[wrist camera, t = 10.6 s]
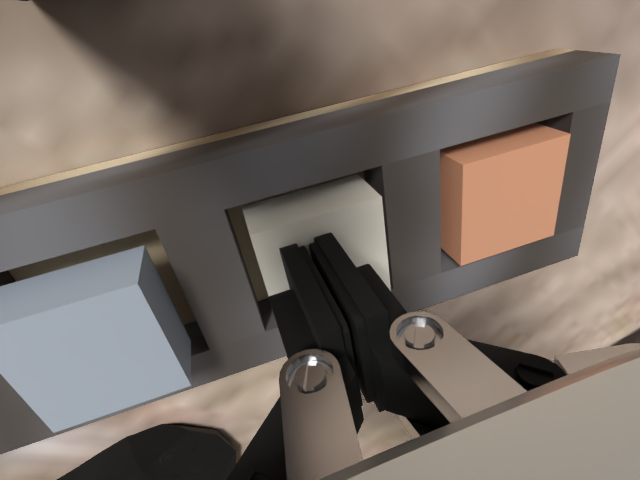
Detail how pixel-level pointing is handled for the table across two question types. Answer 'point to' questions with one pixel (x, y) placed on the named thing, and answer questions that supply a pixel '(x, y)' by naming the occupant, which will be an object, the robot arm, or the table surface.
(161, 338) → the key slate
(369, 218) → the key ivory
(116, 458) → the gaming mouse
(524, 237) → the key terracotta
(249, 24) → the table surface
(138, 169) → the keypad
